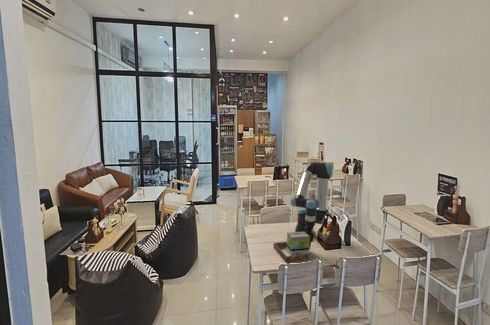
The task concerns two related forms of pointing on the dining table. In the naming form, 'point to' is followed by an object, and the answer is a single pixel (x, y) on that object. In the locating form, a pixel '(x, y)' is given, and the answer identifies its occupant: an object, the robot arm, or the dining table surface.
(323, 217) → the robot arm
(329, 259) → the dining table surface
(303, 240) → the tea box
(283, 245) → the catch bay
